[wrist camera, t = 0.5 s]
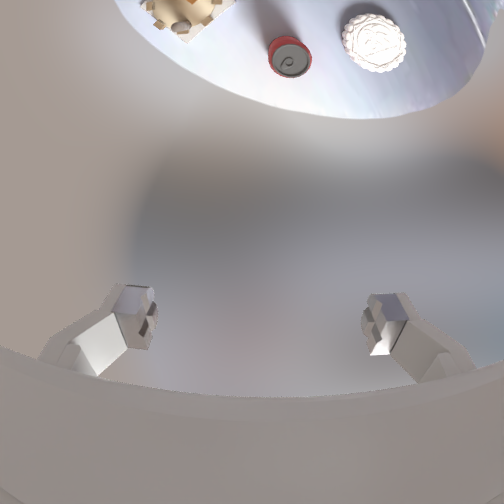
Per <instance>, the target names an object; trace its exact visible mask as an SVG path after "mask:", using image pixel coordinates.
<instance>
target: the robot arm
mask: <svg viewBox="0 0 504 504" xmlns="http://www.w3.org/2000/svg"><path fill="white" fill-rule="evenodd" d="M154 296H155V295H154V291H153V288H152V287H147V286H137V285H126V284H115V285H114V286H113V287H112V288H111V290H110V292H109V294H108V295H107V297H106V298H105V300H104V302H103V303H102V305H101V307H100V308H99V310H94V311H92V312H91V313H89V314H87V315H86V316H84V317H83V318H81V319H79V320H78V321H76V322H74V323H73V324H71V325H69V326H68V327H66V328H64V329H63V330H61V331H60V332H58V333H56V334H55V335H53V336H52V337H50V338H49V340H48V342H47V343H46V345H45V347H44V349H43V350H42V352H41V353H40V355H39V357H38V359H34V358H32V357H29V356H26V355H23V354H21V353H18V352H15V351H13V350H10V349H8V348H5V347H3V346H1V345H0V504H504V360H502V361H499V362H496V363H494V364H491V365H487V366H484V367H481V368H478V369H477V368H476V366H475V364H474V362H473V361H472V359H471V357H470V355H469V353H468V351H467V350H466V348H465V347H464V346H462V345H461V344H459V343H458V342H457V341H455V340H454V339H452V338H451V337H449V336H448V335H447V334H445V333H444V332H442V331H441V330H439V329H438V328H436V327H435V326H434V325H432V324H430V323H429V322H428V321H426V320H425V319H421V318H420V316H419V315H418V313H417V311H416V309H415V308H414V306H413V304H412V302H411V301H410V299H409V297H408V296H407V295H406V294H405V293H389V294H371V295H370V296H369V297H368V300H367V304H368V306H369V307H367V308H366V309H365V310H364V311H363V314H362V318H361V327H362V331H363V334H364V335H365V336H367V337H368V340H367V342H366V343H367V346H368V349H369V351H370V354H371V355H382V354H390V355H391V357H392V358H393V359H394V360H395V361H396V362H397V363H398V364H399V365H400V366H401V367H402V368H403V369H404V370H405V371H406V372H407V373H408V374H409V375H410V376H411V377H412V378H413V379H414V380H415V381H416V382H417V383H418V384H413V385H408V386H402V387H396V388H390V389H383V390H376V391H369V392H360V393H351V394H340V395H329V396H312V397H236V396H219V395H206V394H196V393H186V392H178V391H170V390H163V389H157V388H150V387H144V386H138V385H133V384H127V383H123V382H118V381H113V380H108V379H104V378H100V377H98V375H99V374H100V373H101V372H102V371H104V370H105V369H106V368H107V367H108V366H109V365H110V364H111V363H112V362H113V361H114V360H116V359H117V358H118V357H119V356H120V355H121V354H122V353H123V352H124V351H126V350H127V348H135V349H144V350H148V348H149V345H150V342H151V340H152V334H151V331H153V330H154V329H155V328H156V325H157V322H158V321H157V320H158V308H157V305H156V303H155V302H154V301H153V299H154Z"/></svg>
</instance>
